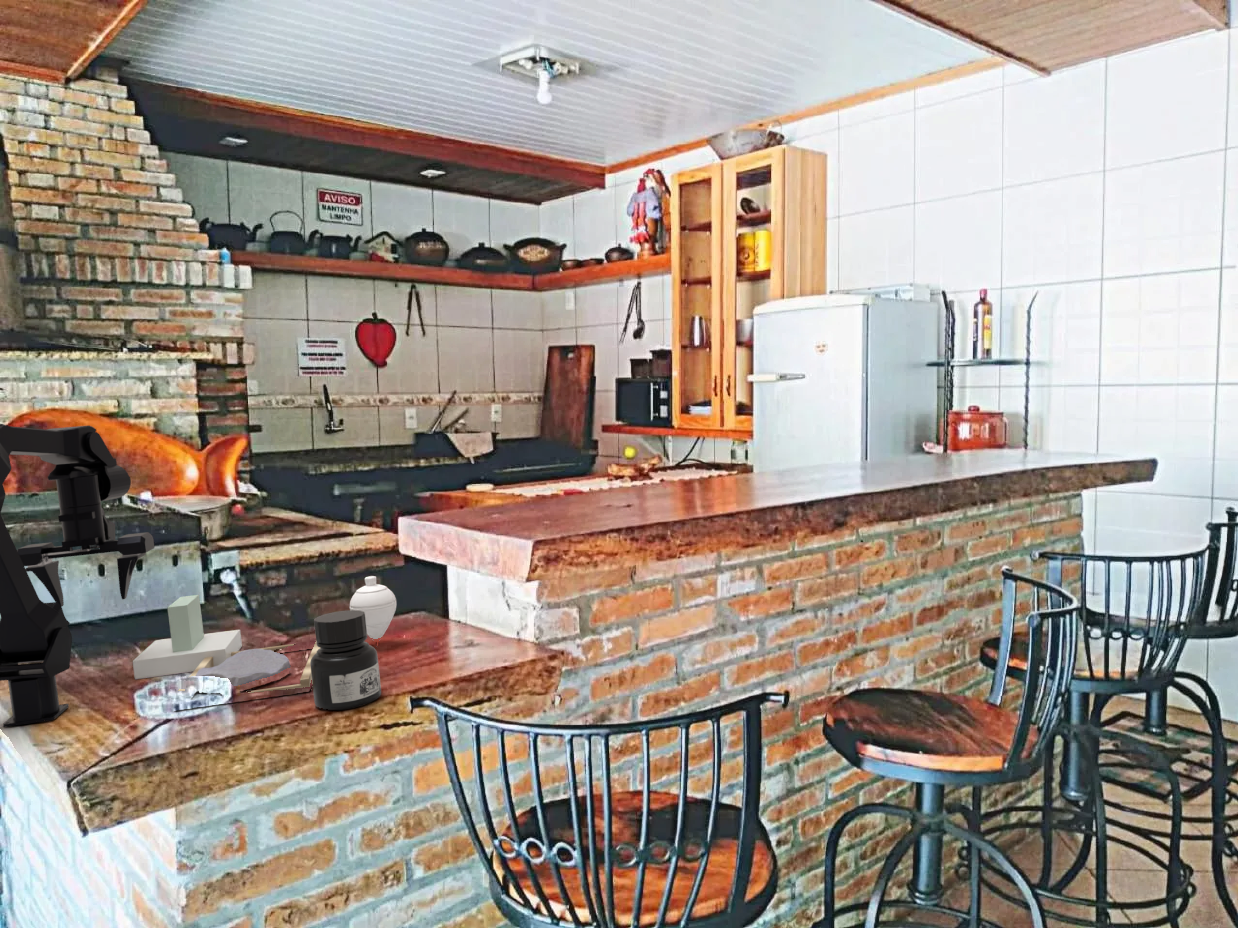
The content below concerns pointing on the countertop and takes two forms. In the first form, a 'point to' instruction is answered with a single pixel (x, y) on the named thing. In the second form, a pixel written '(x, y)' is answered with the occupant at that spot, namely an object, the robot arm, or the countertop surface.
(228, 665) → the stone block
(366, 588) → the spinning top
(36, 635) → the robot arm
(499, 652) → the countertop surface
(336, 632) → the ink bottle
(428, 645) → the countertop surface
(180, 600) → the rectangular block
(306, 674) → the rack
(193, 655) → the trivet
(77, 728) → the countertop surface
